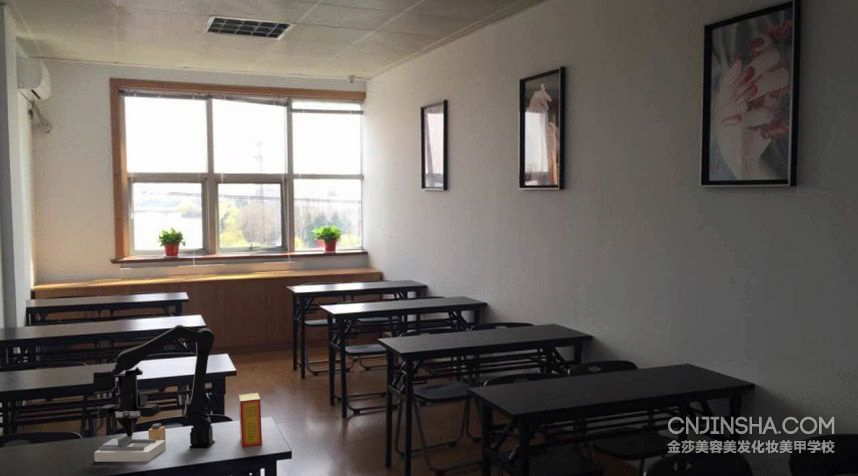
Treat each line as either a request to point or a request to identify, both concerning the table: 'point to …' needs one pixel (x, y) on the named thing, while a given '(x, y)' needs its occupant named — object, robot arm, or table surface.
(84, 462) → the table surface
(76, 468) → the table surface
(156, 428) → the plug
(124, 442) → the shutter
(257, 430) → the baking soda box
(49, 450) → the table surface
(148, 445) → the board
